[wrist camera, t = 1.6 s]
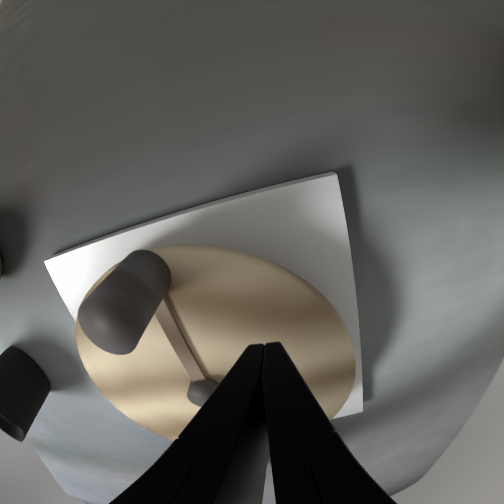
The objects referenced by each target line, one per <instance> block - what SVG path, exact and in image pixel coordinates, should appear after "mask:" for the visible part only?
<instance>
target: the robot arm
mask: <svg viewBox="0 0 504 504" xmlns="http://www.w3.org/2000/svg"><path fill="white" fill-rule="evenodd" d="M269 450H270V458H271V466H272V475H273V483H274V491H275V499H276V504H397V503H396V502H395V501H394V500H393V499H392V498H391V497H390V496H389V495H388V494H387V493H386V492H385V491H384V490H383V489H382V488H381V487H380V486H379V485H378V484H377V483H376V482H375V481H374V480H373V478H372V477H371V476H370V475H369V474H368V473H367V472H366V471H365V469H364V468H363V467H362V466H361V465H360V463H359V462H358V461H357V460H356V459H355V457H354V456H353V454H352V453H351V452H350V450H349V449H348V447H347V446H346V445H345V443H344V442H343V440H342V438H341V437H340V435H339V434H338V432H335V428H334V426H333V425H332V423H331V422H330V420H329V419H328V417H327V415H326V414H325V412H324V411H323V409H322V407H321V406H320V404H319V403H318V401H317V400H316V398H315V396H314V395H313V393H312V392H311V390H310V388H309V387H308V385H307V384H306V382H305V380H304V379H303V377H302V376H301V374H300V372H299V371H298V369H297V367H296V366H295V364H294V363H293V361H292V359H291V358H290V356H289V354H288V353H287V351H286V350H285V348H284V346H283V345H282V343H281V342H279V341H277V342H268V343H266V344H265V345H264V344H263V343H259V344H250V345H248V346H247V347H246V349H245V350H244V351H243V353H242V354H241V355H240V357H239V358H238V360H237V361H236V362H235V364H234V365H233V366H232V368H231V369H230V370H229V372H228V373H227V374H226V376H225V377H224V378H223V380H222V381H221V382H220V384H219V385H218V386H217V387H216V389H215V390H214V391H213V393H212V394H211V395H210V397H209V398H208V399H207V400H206V402H205V403H204V404H203V406H202V407H201V408H200V409H199V411H198V412H197V413H196V414H195V416H194V417H193V418H192V419H191V421H190V422H189V423H188V424H187V426H186V427H185V428H184V429H183V431H182V432H181V433H180V434H179V436H178V439H177V438H176V439H175V440H174V441H173V443H172V444H171V445H170V446H169V447H168V449H167V450H166V451H165V452H164V453H163V454H162V455H161V456H160V458H159V459H158V460H157V461H156V462H155V463H154V464H153V465H152V466H151V467H150V468H149V469H148V470H147V471H146V472H145V473H144V474H143V475H142V476H141V477H140V478H138V479H137V480H136V481H135V482H134V483H133V484H132V485H130V486H129V487H128V488H127V489H126V490H125V491H123V492H122V493H121V494H120V495H119V496H117V497H116V498H115V499H114V500H113V501H111V502H110V503H109V504H262V499H263V492H264V484H265V476H266V468H267V460H268V452H269Z"/></svg>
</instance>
